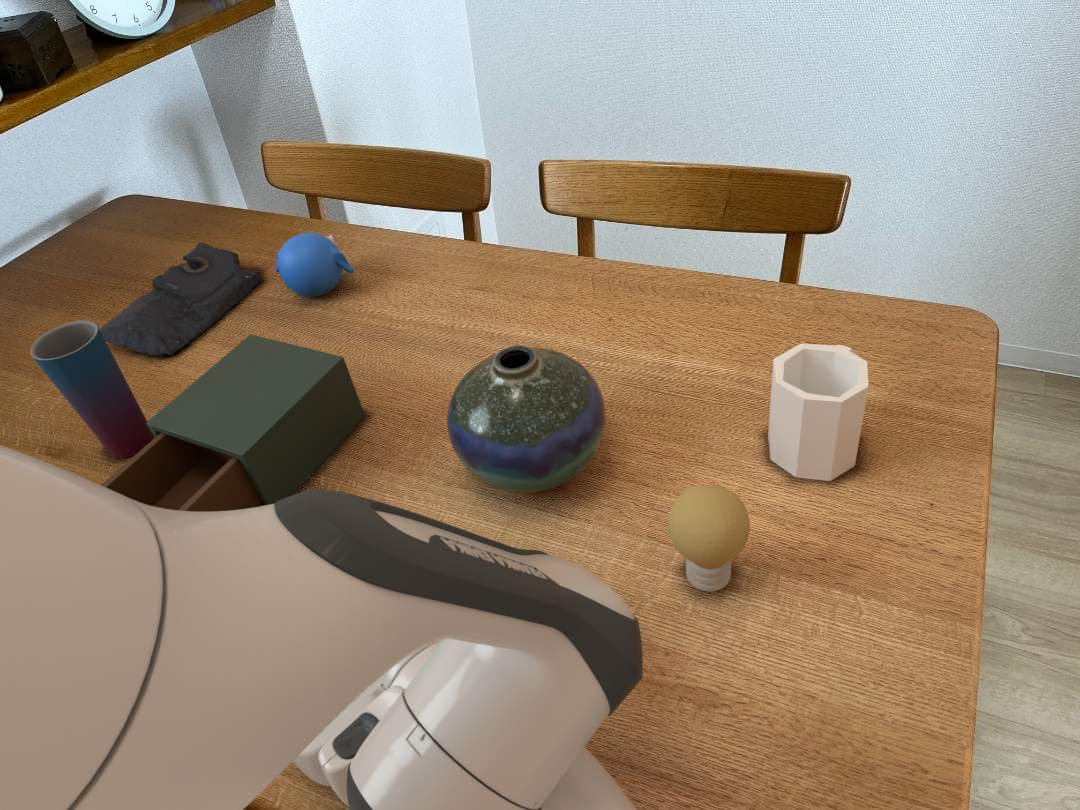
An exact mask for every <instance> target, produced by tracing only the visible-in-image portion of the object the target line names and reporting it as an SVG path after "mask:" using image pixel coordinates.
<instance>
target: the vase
mask: <svg viewBox="0 0 1080 810" xmlns="http://www.w3.org/2000/svg"><path fill="white" fill-rule="evenodd" d="M606 413H607V411H606V405H605V400H604V395H603V393H602V390H601V387H600V386H599V383H598V382H597V381H596V379H595V377H594V375H593V374H592V373H591V372H590V371H589V370H588V369H587V368H586V367H585V366H584V365H583V364H582V363H580V362H579V361H578V360H576V359H575V358H573V357H572V356H569V355H568V354H566V353H563V352H560V351H557V350H554V349H551V348H547V347H546V348H545V347H533V346H532V347H530V346H526V345H522V344H521V345H519V344H517V345H511V346H507V347H505V348H503V349H501V350H500V351H498V352H497V353H496V354H493V355H491V356H488V357H487V358H485V359H483V360H481V361H480V362H478V363H477V364H476V365H474V366H473V367H472V368H471V369H470V370H469V371H467V373H465V375H463V377H462V378H461V379H460V380H459V382H458V383H457V385H456V387H455V389H454V390H453V392H452V395H451V397H450V400H449V403H448V407H447V415H446V419H447V420H446V427H447V433H448V438H449V441H450V443H451V447H452V448H453V450H454V453H455V455H456V456H457V458H458V459H459V461H460V462H461V464H462V465H463V466H464V467H465V469H466V470H468V471H469V472H470V473H471V474H472V475H473V476H474V477H475V478H477V479H478V480H479V481H481V482H483V483H484V484H486V485H488V486H490V487H493V488H495V489H497V490H501V491H503V492H508V493H514V494H532V493H540V492H544V491H549V490H552V489H554V488H557V487H559V486H562V485H564V484H566V483H568V482H569V481H571V480H573V478H575V477H576V476H578V475H579V474H580V473H581V472H582V471H583V470H584V469H585V468H586V467H587V466H588V464H589V463H590V462H591V461H592V460H593V458H594V456H595V455H596V453H597V451H598V450H599V447H600V445H601V443H602V440H603V437H604V432H605V427H606Z"/></svg>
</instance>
